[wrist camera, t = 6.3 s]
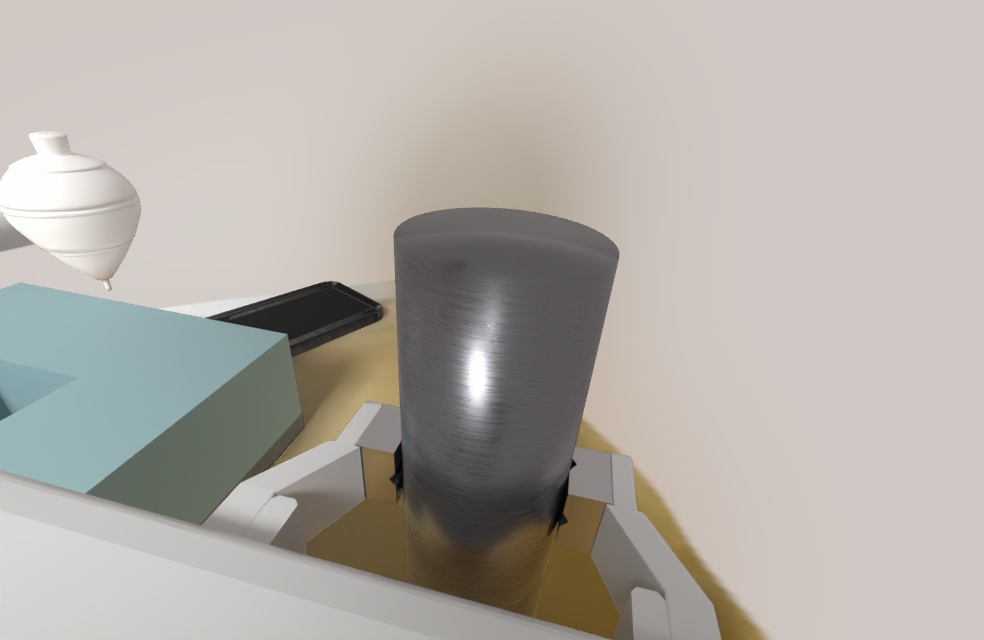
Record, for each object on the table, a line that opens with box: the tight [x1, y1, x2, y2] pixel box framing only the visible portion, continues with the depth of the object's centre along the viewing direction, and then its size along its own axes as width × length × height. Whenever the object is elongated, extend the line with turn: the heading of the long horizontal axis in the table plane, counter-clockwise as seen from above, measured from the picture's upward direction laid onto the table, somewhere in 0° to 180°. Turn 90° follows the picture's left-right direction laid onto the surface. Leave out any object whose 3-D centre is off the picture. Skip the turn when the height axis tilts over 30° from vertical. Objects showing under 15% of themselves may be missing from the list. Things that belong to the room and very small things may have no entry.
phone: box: [206, 281, 383, 357], centre depth 32 cm, size 8×1×15 cm
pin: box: [394, 208, 619, 618], centre depth 11 cm, size 4×4×15 cm
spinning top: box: [0, 132, 141, 291], centre depth 32 cm, size 8×8×12 cm
